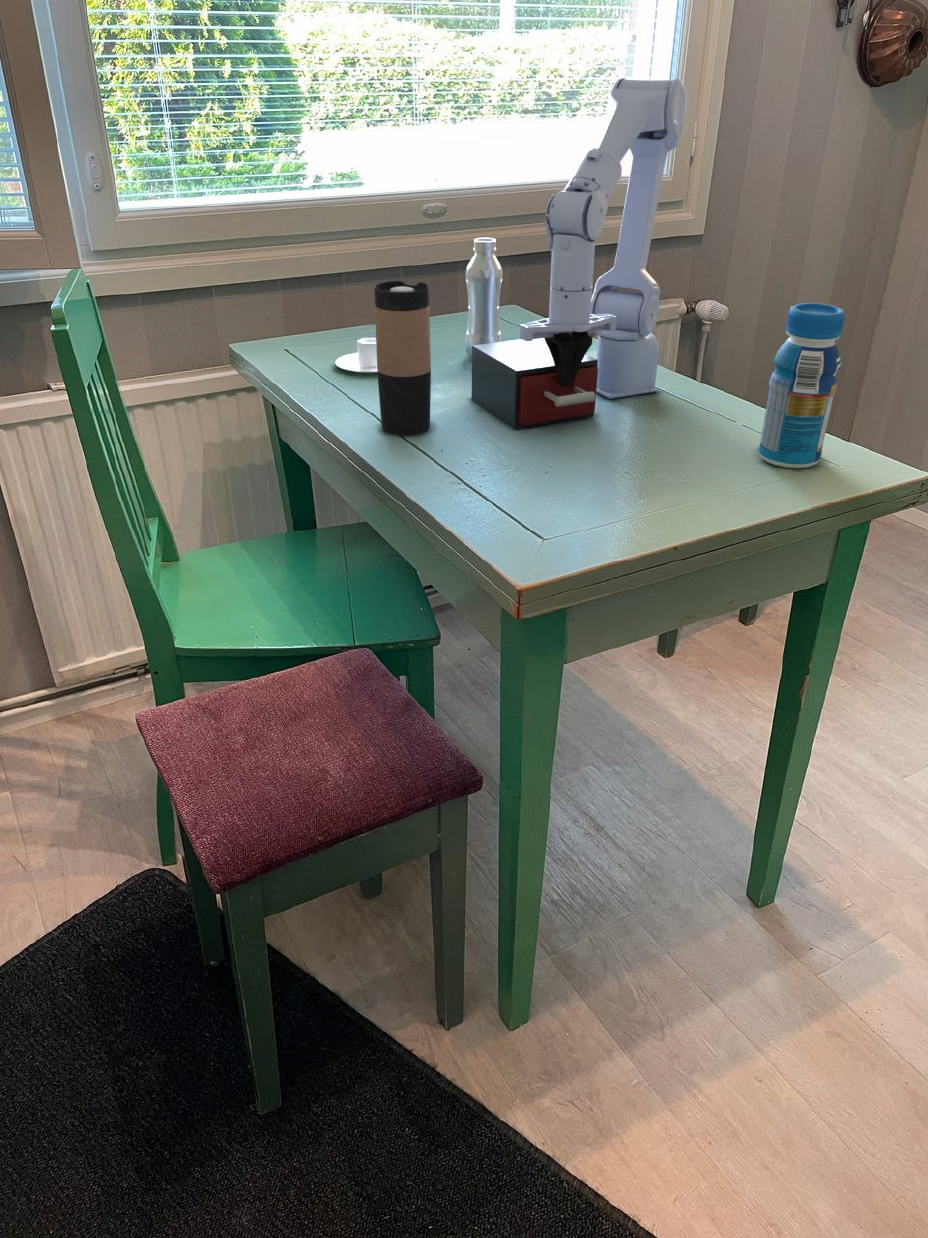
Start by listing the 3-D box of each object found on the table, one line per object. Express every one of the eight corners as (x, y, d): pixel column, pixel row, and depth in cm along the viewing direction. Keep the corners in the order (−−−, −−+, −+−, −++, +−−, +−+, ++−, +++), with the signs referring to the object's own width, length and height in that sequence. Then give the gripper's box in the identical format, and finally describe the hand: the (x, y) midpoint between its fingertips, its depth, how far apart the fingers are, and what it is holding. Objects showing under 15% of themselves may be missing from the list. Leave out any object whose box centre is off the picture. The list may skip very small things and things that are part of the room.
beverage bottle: (743, 455, 129) (768, 306, 118) (782, 442, 133) (810, 297, 123) (794, 475, 123) (826, 320, 113) (833, 461, 127) (867, 310, 117)
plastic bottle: (507, 356, 169) (511, 238, 159) (488, 365, 164) (491, 244, 154) (477, 350, 172) (479, 234, 161) (457, 359, 167) (458, 240, 157)
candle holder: (401, 376, 159) (401, 350, 156) (331, 375, 159) (329, 350, 157) (407, 356, 169) (406, 332, 167) (340, 355, 169) (339, 331, 167)
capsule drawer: (611, 423, 137) (616, 377, 134) (537, 435, 133) (540, 388, 129) (550, 387, 151) (552, 345, 148) (481, 397, 147) (481, 354, 143)
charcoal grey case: (593, 415, 142) (598, 359, 138) (514, 429, 137) (516, 370, 133) (545, 388, 154) (548, 335, 149) (471, 399, 149) (471, 345, 144)
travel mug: (392, 439, 133) (387, 294, 123) (371, 423, 139) (364, 283, 129) (440, 431, 136) (439, 288, 126) (418, 415, 142) (415, 277, 132)
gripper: (539, 298, 122) (535, 400, 129) (632, 287, 127) (623, 386, 134) (513, 287, 127) (511, 386, 134) (603, 278, 133) (596, 373, 140)
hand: (565, 385), depth 135 cm, fingers closed, pressing on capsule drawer
